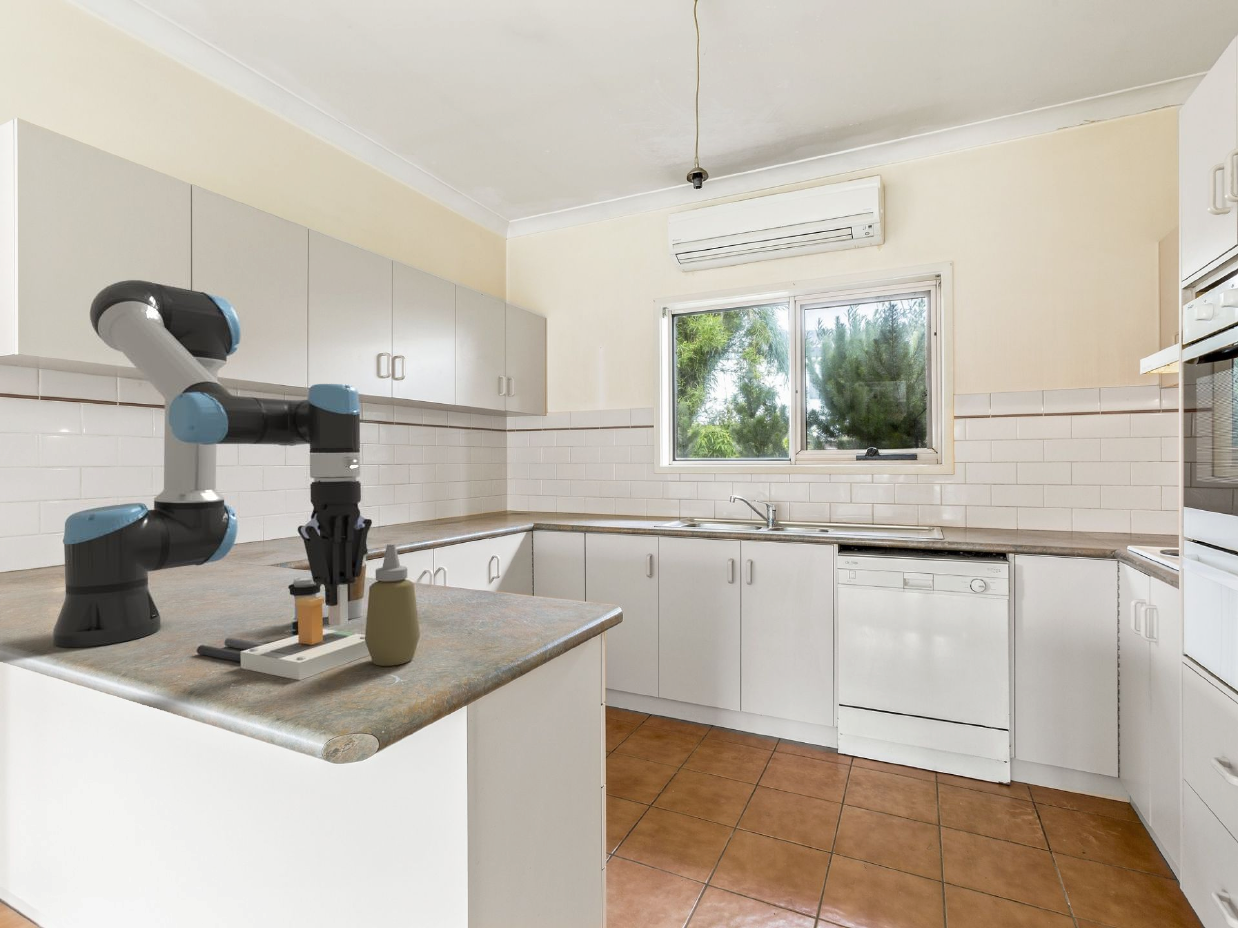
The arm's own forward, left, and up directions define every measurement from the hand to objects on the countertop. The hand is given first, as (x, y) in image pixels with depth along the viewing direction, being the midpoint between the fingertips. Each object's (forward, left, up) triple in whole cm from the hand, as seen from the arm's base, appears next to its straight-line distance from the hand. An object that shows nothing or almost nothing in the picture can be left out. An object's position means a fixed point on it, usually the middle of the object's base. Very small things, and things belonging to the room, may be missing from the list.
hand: (338, 623), depth 104 cm
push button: (-13, +4, -5) cm, 15 cm away
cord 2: (-13, -6, -4) cm, 15 cm away
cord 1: (-13, -10, -4) cm, 17 cm away
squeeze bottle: (+12, -1, -5) cm, 13 cm away
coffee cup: (-17, +17, -5) cm, 25 cm away
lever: (0, -5, -2) cm, 6 cm away
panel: (0, -5, -4) cm, 7 cm away
